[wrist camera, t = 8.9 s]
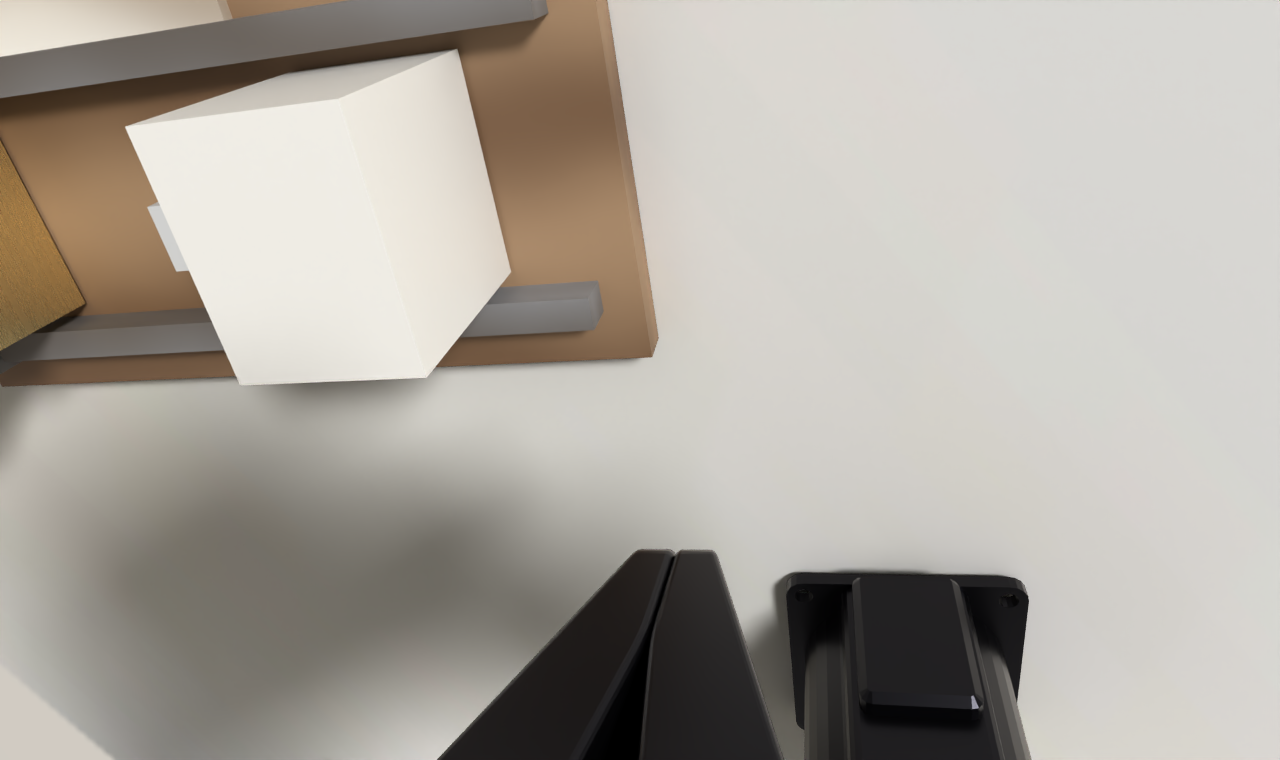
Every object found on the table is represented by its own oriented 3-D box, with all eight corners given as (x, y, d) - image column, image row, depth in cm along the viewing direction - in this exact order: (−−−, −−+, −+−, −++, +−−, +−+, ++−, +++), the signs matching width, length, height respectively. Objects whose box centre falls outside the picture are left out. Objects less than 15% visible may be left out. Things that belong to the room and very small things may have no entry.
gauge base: (658, 338, 21) (597, 514, 15) (29, 370, 25) (-211, 514, 19) (548, -387, 14) (354, -602, 8) (-284, -165, 18) (-802, -196, 13)
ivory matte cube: (511, 272, 19) (426, 377, 15) (289, 288, 21) (154, 388, 16) (457, 48, 17) (338, 98, 13) (210, 83, 18) (28, 139, 14)
